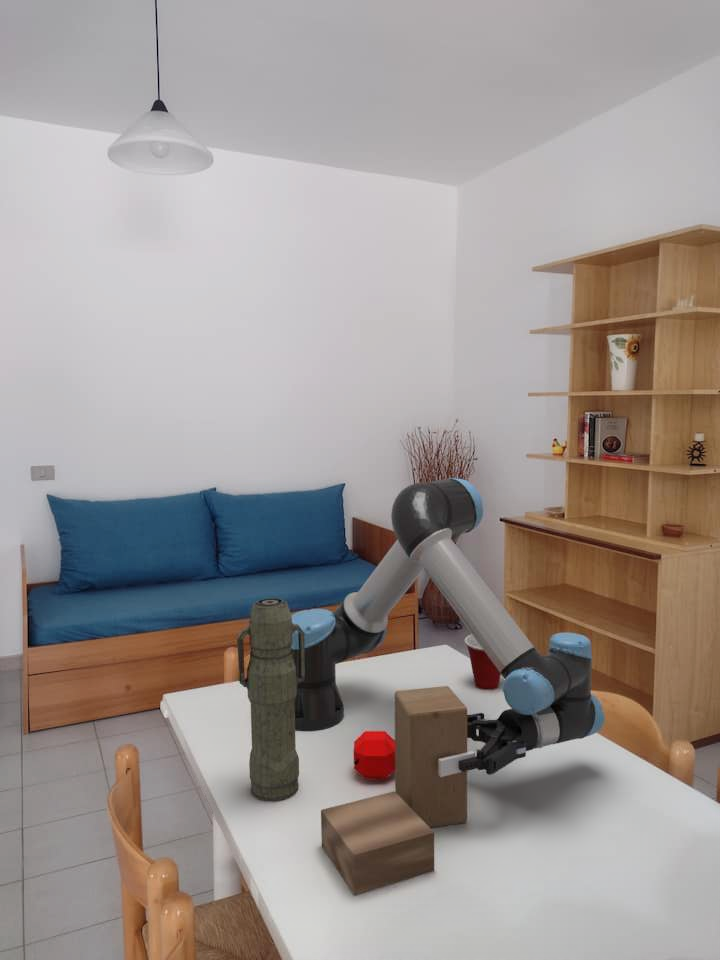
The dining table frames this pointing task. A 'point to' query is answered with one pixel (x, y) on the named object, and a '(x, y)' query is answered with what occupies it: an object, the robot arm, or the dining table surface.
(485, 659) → the plastic cup
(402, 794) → the wooden block
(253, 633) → the thermos
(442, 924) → the dining table surface
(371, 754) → the ball
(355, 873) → the walnut pedestal block
